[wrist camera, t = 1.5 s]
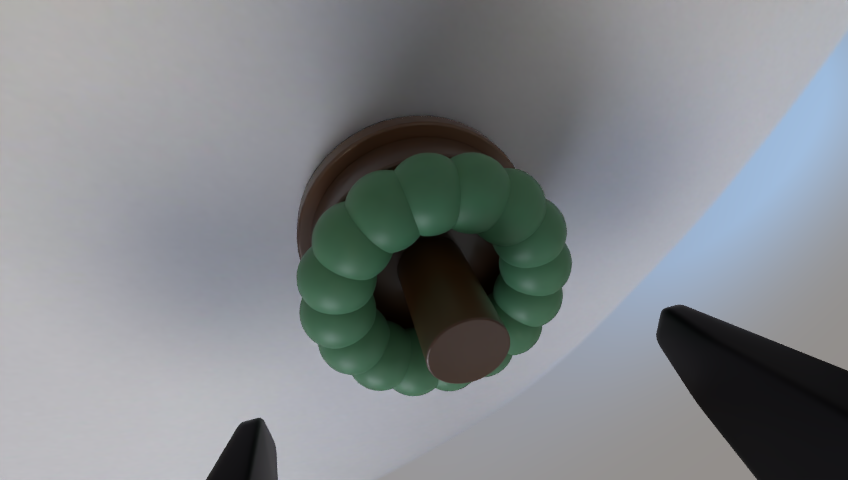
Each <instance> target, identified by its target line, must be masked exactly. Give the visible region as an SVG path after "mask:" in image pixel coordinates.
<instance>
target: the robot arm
mask: <svg viewBox="0 0 848 480" xmlns="http://www.w3.org/2000/svg"><path fill="white" fill-rule="evenodd" d="M656 337H657V341H658V343H659V345H660V347H661V348H662V350H663V352H664V353H665V355H666V356H667V358H668V359H669V361H670V362H671V364H672V366H673V367H674V369H675V370H676V372H677V373H678V375H679V376H680V378H681V380H682V381H683V382H684V384H685V386H686V387H687V389H688V390H689V392H690V393H691V395H692V396H693V398H694V399H695V401H696V402H697V404H698V405H699V406H700V407H701V409H702V410H703V411H704V413H705V414H706V415H707V417H708V418H709V419H710V420H711V422H712V423H713V424H714V425H715V427H716V428H717V429H718V431H719V432H720V433H721V434H722V435H723V437H724V438H725V439H726V441H727V442H728V443H729V444H730V446H731V447H732V448H733V449H734V451H735V452H736V453H737V455H738V456H739V457H740V458H741V460H742V461H743V462H744V463H745V464H746V466H747V467H748V468H749V470H750V471H751V472H752V474H753V475H754V476H755V477H756V478H757V480H848V371H847V370H845V369H842V368H840V367H837V366H834V365H832V364H830V363H827V362H825V361H822V360H819V359H817V358H814V357H812V356H809V355H807V354H805V353H802V352H799V351H797V350H794V349H792V348H789V347H787V346H784V345H782V344H779V343H777V342H774V341H772V340H769V339H767V338H764V337H762V336H759V335H757V334H754V333H752V332H749V331H747V330H744V329H742V328H739V327H737V326H734V325H732V324H729V323H727V322H724V321H722V320H719V319H717V318H714V317H712V316H709V315H707V314H704V313H702V312H699V311H697V310H694V309H692V308H689V307H687V306H684V305H675V306H671V307H667V308H665V309H663V310H662V312H661V315H660V319H659V324H658V329H657V333H656ZM206 480H278V475H277V454H276V446H275V443H274V440H273V438H272V436H271V434H270V432H269V430H268V428H267V426H266V424H265V422H264V420H263V419H262V418H256V419H252V420H248V421H245V422H242V423H241V424H240V425H239V426H238V427H237V429H236V431H235V432H234V434H233V436H232V437H231V439H230V441H229V442H228V444H227V446H226V447H225V449H224V451H223V452H222V454H221V456H220V457H219V459H218V461H217V462H216V464H215V466H214V467H213V469H212V471H211V472H210V474H209V476H208V477H207V479H206Z"/></svg>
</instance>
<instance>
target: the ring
mask: <svg viewBox="0 0 848 480" xmlns="http://www.w3.org/2000/svg"><path fill="white" fill-rule="evenodd" d="M451 229H453V230H455V231H457V232H460V233H465V234H478V235H479V236H480V237H481V238H483V239H484V240H485V241H487V242H489V243H492V244H493V247H494V249H495V251H496V252H497V254H498V255H499V269H500V274H499V275H498V277H497V279H496V281H495V284H494V288H493V292H492V293H490V294H489V295H488V298H489V299H490V301H491V303H492V304H493V306H494V308H495V310H496V311H497V313H498V315H499V316H500V318H501V320H502V322H503V323H504V325H505V327H506V329H507V330H508V332H509V335H510V348H509V351H508V354H507V356H506V358H505V359H504V361H503V362H502V363H501V364H500V366H499V367H497V368H496V369H495V370H494V371H493V372H491V373H490V374H488V375H487V376H485V377H489V376H492V375H495V374H497V373H499V372H500V371H502V370H503V369H504V368H505V367H506V366H507V365H508V363H509V362H510V360H511V358H512V355H518V354H521V353H524V352H526V351H527V350H529V349H530V348H531V347H532V346H533V345H534V344H535V343H536V342H537V340H538V339H539V337H540V334H541V331H542V325H544V324H546V323H548V322H549V321H551V320H552V319H553V318H554V317H555V316H556V314H557V313H558V311H559V309H560V307H561V304H562V298H563V292H562V287H563V286H564V284H565V283H566V282H567V280H568V278H569V275H570V272H571V267H572V259H571V254H570V251H569V249H568V247H567V245H566V243H565V241H566V236H567V228H566V223H565V220H564V217H563V215H562V213H561V212H560V210H559V209H558V208H557V207H556V206H555V205H554V204H553V203H552V202H550V201H549V200H547V199H545V195H544V192H543V190H542V188H541V186H540V185H539V183H538V182H537V181H536V180H535V179H534V178H533V177H532V176H530V175H529V174H527V173H526V172H523V171H521V170H518V169H513V168H503V167H502V165H501V164H500V163H499V162H498V161H496V160H495V159H493V158H492V157H490V156H487V155H485V154H481V153H476V152H468V153H462V154H459V155H456V156H454V157H452V158H450V159H449V158H448V157H446V156H443V155H441V154H437V153H419V154H416V155H413V156H411V157H409V158H407V159H405V160H404V161H403V162H401V163H400V164H399V165H398V166H397V167H396V169H395V170H394V171H393V170H378V171H374V172H371V173H368V174H366V175H365V176H363V177H362V178H360V179H359V180H358V181H357V182H356V183H355V184H354V185H353V186H352V187H351V189H350V191H349V192H348V195H347V197H346V200H345V201H344V202H340V203H338V204H335V205H333V206H332V207H330V208H329V209H327V210H326V211H325V212H324V213H323V214H322V215H321V217H320V218H319V219H318V221H317V223H316V225H315V227H314V230H313V234H312V247H310V248H309V249H308V250H307V252H306V253H305V254H304V255H303V257H302V259H301V261H300V263H299V266H298V269H297V286H298V289H299V292H300V294H301V296H302V300H301V304H300V320H301V324H302V327H303V329H304V330H305V332H306V334H307V335H308V336H309V337H310V338H311V339H312V340H313V341H314V342H316V343H317V344H318V346H319V350H320V353H321V355H322V357H323V359H324V360H325V362H326V363H327V364H328V365H329V366H330V367H331V368H333V369H334V370H336V371H338V372H340V373H344V374H348V375H352V376H353V377H354V379H355V380H356V381H357V382H358V383H360V384H361V385H362V386H364V387H366V388H368V389H371V390H376V391H384V390H389V389H392V388H393V389H394V390H396V391H397V392H399V393H401V394H404V395H408V396H420V395H424V394H426V393H428V392H430V391H432V390H433V389H434V388H437V389H439V390H443V391H456V390H459V389H462V388H464V387H466V386H467V385H468V384H470V383H471V382H469V383H463V384H451V383H446V382H443V381H441V380H439V379H437V378H436V377H434V376H433V375H432V374H431V373H430V371H429V370H428V368H427V365H426V362H425V359H424V355H423V352H422V349H421V346H420V343H419V340H418V337H417V333H416V330H415V328H414V327H413V328H406V329H404V328H403V327H401V326H400V325H399V324H397V323H394V322H392V321H388V320H386V319H385V317H384V316H383V314H382V313H381V312H380V311H379V310H378V309H376V302H375V299H374V296H373V293H374V290H375V287H376V283H377V275H378V274H379V273H380V272H381V271H382V270H383V269H384V268H385V267H386V266H387V264H388V263H389V261H390V259H391V257H392V254H393V253H395V252H398V251H401V250H404V249H406V248H407V247H409V246H410V245H412V244H413V243H414V242H415V241H416V240H417V239H418V238H419V237H420V235H421V236H436V235H440V234H443V233H445V232H447V231H449V230H451Z"/></svg>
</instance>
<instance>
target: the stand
mask: <svg viewBox="0 0 848 480" xmlns="http://www.w3.org/2000/svg"><path fill="white" fill-rule="evenodd" d="M468 152H476V153H481V154H485V155H487V156H490V157H492V158H493V159H495V160H496V161H498V162H499V163H500V164H501V165H502V167H503V168H513V169H515V167H514V165H513V164H512V162H511V161H510V160H509V159H508V157H507V156H506V155H505V154H504V152H502V151H501V150H500V149H499V148H498V147H497V146H496V145H495V144H494V143H493V142H491V141H490V140H489V139H488V138H487V137H486V136H484V135H483V134H481V133H480V132H478V131H477V130H475V129H473V128H471V127H469V126H467V125H465V124H463V123H460V122H457V121H454V120H450V119H447V118H441V117H435V116H407V117H398V118H394V119H390V120H386V121H382V122H379V123H377V124H374V125H372V126H369V127H367V128H365V129H363V130H361V131H359V132H357V133H356V134H354V135H352V136H350V137H349V138H348V139H346V140H345V141H344V142H342V143H341V144H340V145H338V146H337V147H336V148H335V149H334V150H333V151H332V152H331V153H330V154H329V155H328V156H327V157H326V158H325V159H324V160H323V161H322V163H321V164H320V165H319V167H318V168H317V169H316V170H315V172H314V174H313V175H312V177H311V179H310V181H309V182H308V184H307V186H306V189H305V191H304V194H303V196H302V199H301V203H300V208H299V212H298V223H297V244H298V253H299V257H300V261H301V259H302V257H303V255H304V254H305V253H306V252H307V250H308V249H309V248H310V247H312V234H313V230H314V227H315V225H316V223H317V221H318V219H319V218H320V217H321V215H322V214H323V213H324V212H325V211H326V210H327V209H329V208H330V207H332V206H333V205H335V204H338V203H340V202H344V201H345V200H346V197H347V195H348V192H349V191H350V189H351V187H352V186H353V185H354V184H355V183H356V182H357V181H358V180H359V179H360V178H362V177H363V176H365V175H366V174H368V173H371V172H374V171H378V170H393V171H394V170H395V169H396V167H397V166H398V165H399V164H400V163H401V162H403V161H404V160H405V159H407V158H409V157H411V156H413V155H416V154H419V153H437V154H441V155H443V156H446V157H448V158H449V159H450V158H452V157H454V156H456V155H459V154H462V153H468ZM499 274H500V269H499V255H498V254H497V252H496V251H495V249H494V247H493V244H492V243H489V242H487V241H485V240H484V239H483V238H481V237H480V236H479V235H478V234H465V233H460V232H457V231H455V230H453V229H451V230H449V231H447V232H445V233H443V234H440V235H436V236H421V235H420V237H419V238H418V239H417V240H416V241H415V242H414V243H413V244H412V245H410V246H409V247H407V248H406V249H404V250H401V251H398V252H395V253H393V254H392V257H391V259H390V261H389V263H388V264H387V266H386V267H385V268H384V269H383V270H382V271H381V272H380V273H379V274H378V275H377V283H376V287H375V290H374V293H373V296H374V299H375V302H376V309H378V310H379V311H380V312H381V313H382V314H383V316H384V317H385V319H386V320H388V321H392V322H394V323H397V324H399V325H400V326H401V327H403V328H404V329H406V328H413V327H414V328H415V330H416V333H417V337H418V340H419V343H420V346H421V349H422V352H423V355H424V359H425V362H426V365H427V368H428V370H429V371H430V373H431V374H432V375H433V376H434V377H436V378H437V379H439V380H441V381H443V382H446V383H451V384H463V383H469V382H473V381H476V380H479V379H481V378H483V377H485V376H487V375H488V374H490V373H491V372H493V371H494V370H495V369H496V368H497V367H499V366H500V364H501V363H502V362H503V361H504V359H505V358H506V356H507V354H508V351H509V348H510V335H509V332H508V330H507V329H506V327H505V325H504V323H503V322H502V320H501V318H500V316H499V315H498V313H497V311H496V310H495V308H494V306H493V304H492V303H491V301H490V299H489V298H488V295H489V294H490V293H492V292H493V288H494V284H495V281H496V279H497V277H498V275H499Z"/></svg>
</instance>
